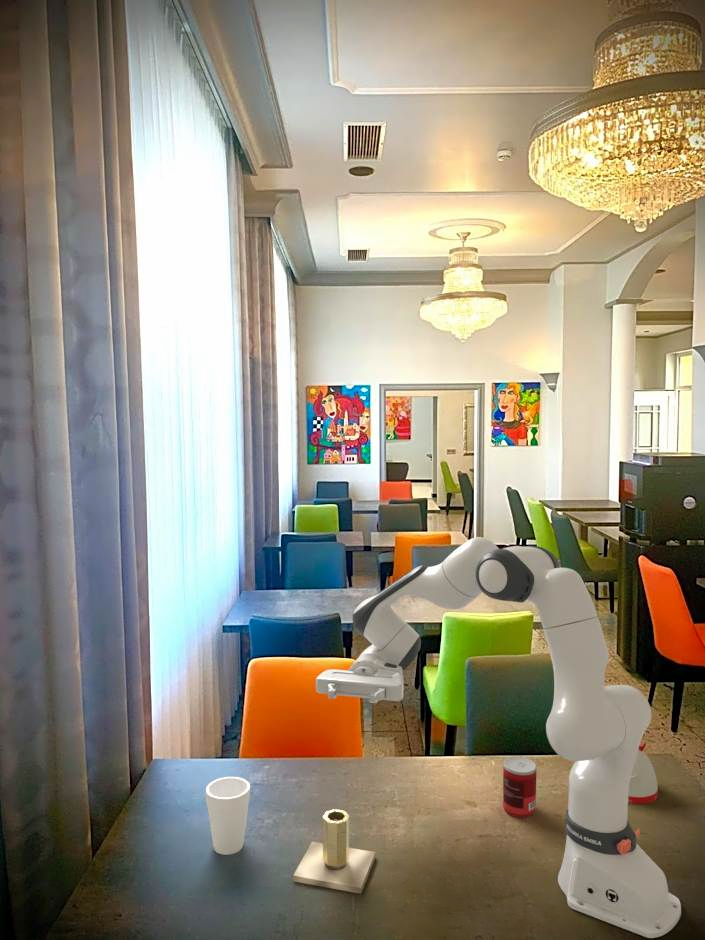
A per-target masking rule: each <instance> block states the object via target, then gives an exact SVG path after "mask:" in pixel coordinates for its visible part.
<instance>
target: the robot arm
mask: <svg viewBox="0 0 705 940" xmlns="http://www.w3.org/2000/svg"><path fill="white" fill-rule="evenodd" d="M583 580H584V579H582V576H581V575H580V574H579V573H578V572H577V571H576V570H574V569H572V568H568V567H561V566H560V563H559V560H558V558H557V557H556V555H555V554H554V553H553V552H552V551H550V550H549V549H546V548H545V547H542V546H536V545H528V546H521V545H513V546H508V547H503V548H499V547H498V546H497V545H496V544H495V543H494V542H493V541H492V540H490V539H489V538H486V537H480V536H475V537H472V538H470V539H469V540H467V541H465V542H464V543H462V544H461V545H459V547H457V548H456V549H455V550H453V551H452V552H451V553H450V554H449V555H448V556H447V557H446V558H445V559H443V561H442V562H441V563H439V564H436V565H432V566H427V565H424V564H422V565H419V566H417V567H414V568H413V569H411V570H409V571H408V572H407V573H405V574H403V575H402V576H401V577H398V579H396V580H395V581H394V582H392V583H391V584H389V585H388V586H386V587H385V588H383V589H382V590H380V591H378V592H377V593H376V594H374V595H372V596H371V597H368V598H366V599H365V600H363V601H362V602H361V603H359V605H357V607H355V609H354V612H353V613H352V625H353V629H354V630H355V631H356V632H357V633H359V634H360V636H361V635H362V637H364V638H365V639H366V640H367V641H368V642H369V643H370V644H371V645H369V646H368V647H366V649H364V650H363V651H362V652H361V654H359V656H358V657H357V658H356V659H355V661H353V663H352V664H351V665H350V666H349V668H348V669H347V670H346V669H344V670H343V669H335V668H333V669H330V668H329V669H326V670H324V671H323V672H321V673H320V674H319V675H318V676H316V678H315V691H316V692H317V693H318V694H324V695H327V698H328V699H330V700H331V699H332V700H336V698H337V696H343V697H355V698H360V699H361V698H362V699H363V698H365V699H369V700H368V701H369V703H371V704H377V703H378V702H379V701H383V700H384V701H393V702H399V701H402V700H403V698H404V675H403V674H404V673H403V672H404V671H406V669H407V668H408V667H409V666H410V665H411V664H412V662H413V661H414V660H415V658H416V656H417V655H418V653H419V652H420V650H421V644H422V640H421V639H422V638H421V636H420V634H419V633H418V632H417V631H416V630H415V629H414V628H413V627H411V625H410V624H409V623H407V621H405V620H404V619H403V618H402V617H401V616H400V615H399V614H398V613H397V612H396V611H395V610H394V609H393V608H392V604H395V603H396V602H398V601H399V600H400V599H402V598H403V597H405V596H415V597H418V598H421V599H422V600H425V601H427V602H430V603H431V604H433V605H435V606H437V607H439V608H442V609H446V610H460V609H463V608H465V607H467V606H468V605H469V604H471V603H472V602H473V601H475V600H476V599H477V598H478V597H479V596H480V595H481V594H482V593H483V594H484V595H485V596H487V597H489V598H490V599H492V600H493V599H494V600H498V601H503V602H514V603H515V602H516V603H525V601H529V602H531V603H532V604H533V605H534V606H535V608H536V610H537V612H538V616H539V617H540V618H539V619H540V622H541V627H542V629H543V633H544V636H545V641H546V644H547V648H548V651H549V655H550V658H551V659H550V660H551V663H552V670H553V679H554V681H553V683H554V685H553V686H554V689H553V692H554V693H553V703H552V707H551V711H550V713H549V715H548V717H547V720H546V723H545V730H546V731H545V732H546V737H547V740H548V742H549V744H550V747H551V748H552V749H553V750H554V752H555V753H556V754H557V755H558V756H559V757H561V758H562V759H564V760H566V761H569V762H574V764H573V765H572V767H571V769H570V771H569V776H568V799H567V801H568V802H567V803H568V804H567V809H566V811H565V819H564V820H565V822H564V825H565V826H564V833H565V837H566V840H565V841H566V842H565V849H564V854H563V860H562V862H561V867H560V870H559V872H558V874H557V875H558V876H557V883H558V885H559V887H560V890H561V891H562V892H563V893H564V895H565V897H566V901H567V902H566V903H567V905H568V907H569V908H571V909H572V910H573V911H574V910H575V911H577V912H580V913H582V914H585V915H587V916H590V917H593V918H595V919H598V920H601V921H602V922H606V923H608V924H611V925H613V926H615V927H618V928H621V929H623V930H626V931H630V932H632V933H633V934H637V935H640V936H642V937H644V938H647V939H654V938H655V939H656V938H659V937H662V936H664V935H666V934H667V933H669V932H670V931H671V930H673V929H674V927H675V926H676V925H677V924H678V922H679V920H680V919H681V916H682V903H681V901H680V899H679V898H678V897H677V896H676V895H674V894H672V893H671V892H669V885H668V881H667V877H666V875H665V873H664V871H663V870H662V869H661V868H660V867H659V865H658V864H656V862H655V861H653V859H651V857H650V856H649V855H648V854H647V853H646V852H645V851H644V850H643V849H642V848H641V847H640V845H639V844H638V843H637V839H638V837H639V836H640V834H641V833H640V831H641V829H640V828H637V829H636V830H635V831H634V830H633V828H632V826H631V824H630V822H629V819H628V811H629V803H628V794H629V784H630V778H631V774H632V770H633V766H634V763H635V759H636V755H637V752H638V748H639V746H641V741H642V738H643V736H644V734H645V733H646V731H647V728H648V727H649V725H650V723H651V720H652V708H651V705H650V703H649V701H648V699H647V698H646V696H645V695H644V694H643V692H641V690H639V689H637V688H636V687H634V686H631V685H628V684H615V685H614V684H613V685H606V686H605V675H606V673H605V672H606V668H607V665H608V663H609V660H610V651H609V648H608V644H607V641H606V638H605V635H604V632H603V628H602V625H601V621H600V618H599V616H598V613H597V610H596V607H595V605H594V602H593V599H592V596H591V595H590V592H589V590H588V587H587V585H586V584H585V582H584V581H583Z"/></svg>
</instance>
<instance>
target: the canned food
mask: <svg viewBox="0 0 705 940" xmlns="http://www.w3.org/2000/svg"><path fill="white" fill-rule="evenodd" d="M537 770H538V769H537V764H536V763H535V762H534V761H532V760H531V759H529V758H526V757H521V756H520V757H519V756H513V757H508V758H506V759H504V762H503V770H502V771H503V773H502V778H503V779H502V806H503V807H502V808H503V810H504V812H506V813H507V814H508V815H510V816H512V817H515V818H522V819H525V818H528V817H529V818H530V817H531V816H533V815H534V813H535V812H536V805H537V803H536V802H537Z"/></svg>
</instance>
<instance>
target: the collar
mask: <svg viewBox="0 0 705 940" xmlns="http://www.w3.org/2000/svg"><path fill="white" fill-rule="evenodd" d="M334 819H337V820H338V821H334ZM322 843H323V861H324V862H325V863H326V864H327V865H329V866H335V867H338V866H341V865H344V864H346V863H347V861H348V859H349V848H350V815H349V813H348V812H346V811H345V810H343V809H342V810H341V809H338V808H337V809H336V808H334V809H333V808H332V809H331V810H326V811H325V813H323V816H322Z"/></svg>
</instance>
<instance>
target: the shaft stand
mask: <svg viewBox="0 0 705 940" xmlns="http://www.w3.org/2000/svg"><path fill="white" fill-rule="evenodd" d="M334 821H338V820H337V819H334ZM375 859H376V851H371V850H364V849H358V848H354V847H349V859H348V861H347V863H346V864H344V865H341V866H338V867H335V866H329V865H327V864H326V863H325V862H324V861H323V842H317V841H311V843H310V845H309V847H308V848H307V850H306V852H305V853H304V855H303V858H302V859H301V860H300V863H299V864H298V866H297V868H296V869H295V871H294V874H292V877H293V878H292V879H293V880H292V882H295V883H301V884H306V885H311V886H317V887H321V888H327V889H328V888H329V889H333V890H338V891H343V892H349V893H355V894H360V895H361V894H362V892H363V890H364V887H365V884H366V882H367V880H368V878H369V875H370V872H371V869H372V867H373V865H374V863H375Z"/></svg>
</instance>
